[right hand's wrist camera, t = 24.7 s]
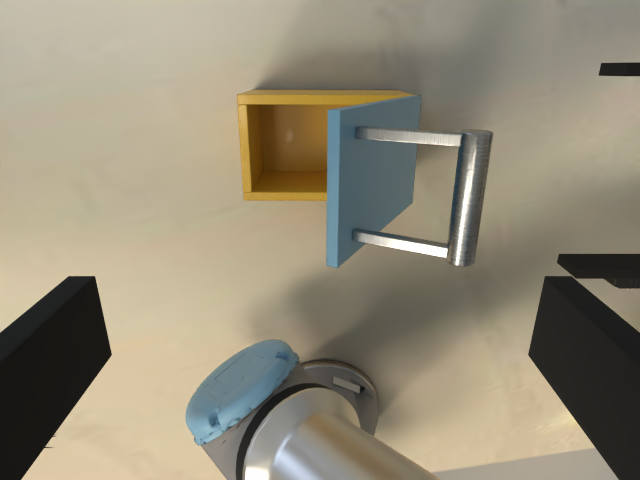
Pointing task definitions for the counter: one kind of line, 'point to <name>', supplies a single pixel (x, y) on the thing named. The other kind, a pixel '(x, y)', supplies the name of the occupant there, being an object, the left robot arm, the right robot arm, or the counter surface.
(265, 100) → the chest
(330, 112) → the lid
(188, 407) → the left robot arm
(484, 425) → the counter surface
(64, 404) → the right robot arm
